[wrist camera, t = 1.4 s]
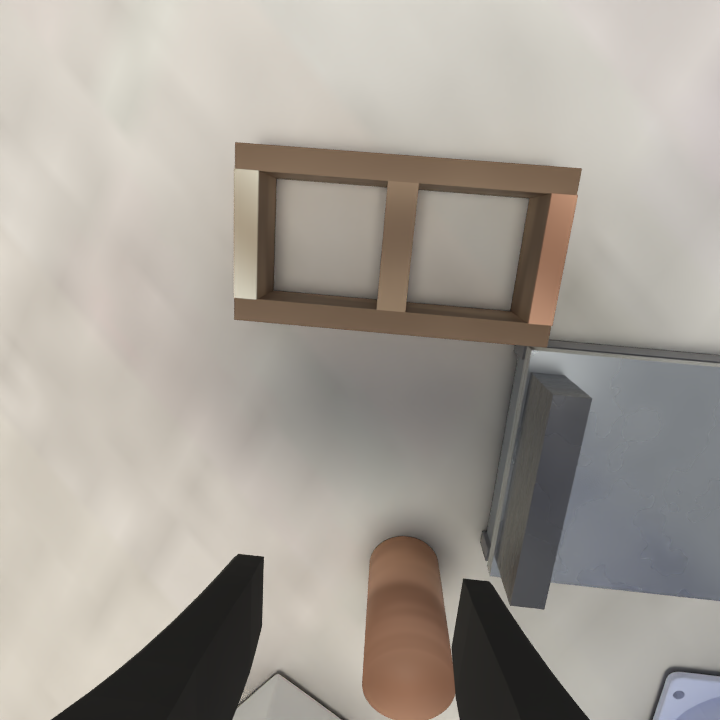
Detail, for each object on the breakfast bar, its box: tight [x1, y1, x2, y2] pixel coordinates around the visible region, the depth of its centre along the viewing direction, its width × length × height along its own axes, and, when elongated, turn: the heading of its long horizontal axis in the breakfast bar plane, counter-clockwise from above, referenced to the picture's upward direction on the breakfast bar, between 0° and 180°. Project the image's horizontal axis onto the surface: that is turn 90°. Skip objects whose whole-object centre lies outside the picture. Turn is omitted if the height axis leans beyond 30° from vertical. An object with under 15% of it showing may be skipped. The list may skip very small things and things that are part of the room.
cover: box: [487, 346, 720, 609], centre depth 17 cm, size 10×9×3 cm
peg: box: [362, 536, 455, 720], centre depth 19 cm, size 3×3×6 cm
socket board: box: [234, 142, 582, 348], centre depth 17 cm, size 6×11×2 cm, turn 85°
